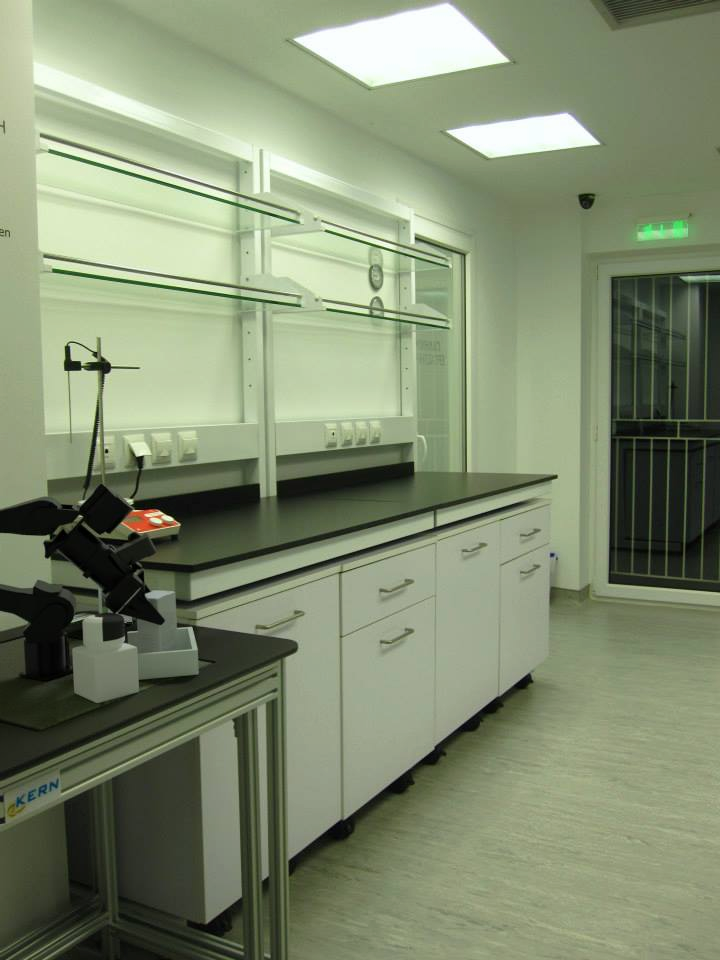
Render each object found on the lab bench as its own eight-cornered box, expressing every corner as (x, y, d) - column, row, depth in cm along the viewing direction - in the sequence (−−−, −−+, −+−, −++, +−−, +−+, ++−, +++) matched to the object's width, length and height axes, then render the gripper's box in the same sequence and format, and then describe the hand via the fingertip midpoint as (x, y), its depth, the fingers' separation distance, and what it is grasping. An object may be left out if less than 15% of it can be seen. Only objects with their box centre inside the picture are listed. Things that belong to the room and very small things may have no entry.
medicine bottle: (115, 682, 141) (112, 607, 140) (139, 692, 136) (136, 614, 135) (73, 693, 136) (69, 615, 135) (96, 704, 131) (92, 623, 130)
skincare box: (156, 658, 154) (154, 589, 153) (179, 660, 153) (176, 590, 152) (137, 668, 149) (134, 597, 147) (160, 670, 147) (157, 598, 146)
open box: (127, 680, 142) (126, 655, 142) (128, 654, 157) (127, 631, 157) (198, 674, 145) (197, 650, 144) (192, 648, 160) (192, 626, 159)
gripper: (124, 526, 138) (199, 591, 142) (125, 512, 157) (192, 570, 160) (73, 580, 137) (150, 644, 141) (80, 559, 155) (149, 617, 159)
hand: (162, 616), depth 150 cm, fingers open, 9 cm apart
